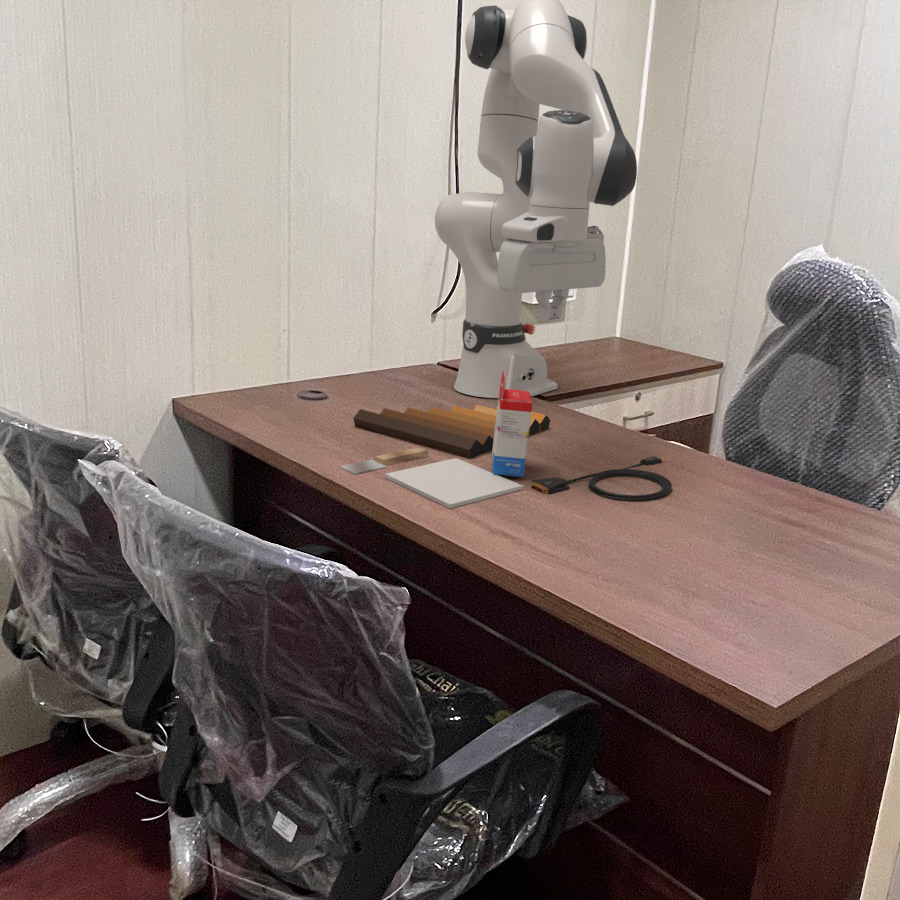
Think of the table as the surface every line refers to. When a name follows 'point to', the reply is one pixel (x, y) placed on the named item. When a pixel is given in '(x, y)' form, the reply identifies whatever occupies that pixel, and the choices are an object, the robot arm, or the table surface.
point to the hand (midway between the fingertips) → (549, 319)
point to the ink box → (511, 431)
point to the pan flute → (443, 427)
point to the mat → (453, 482)
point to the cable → (561, 484)
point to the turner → (385, 461)
